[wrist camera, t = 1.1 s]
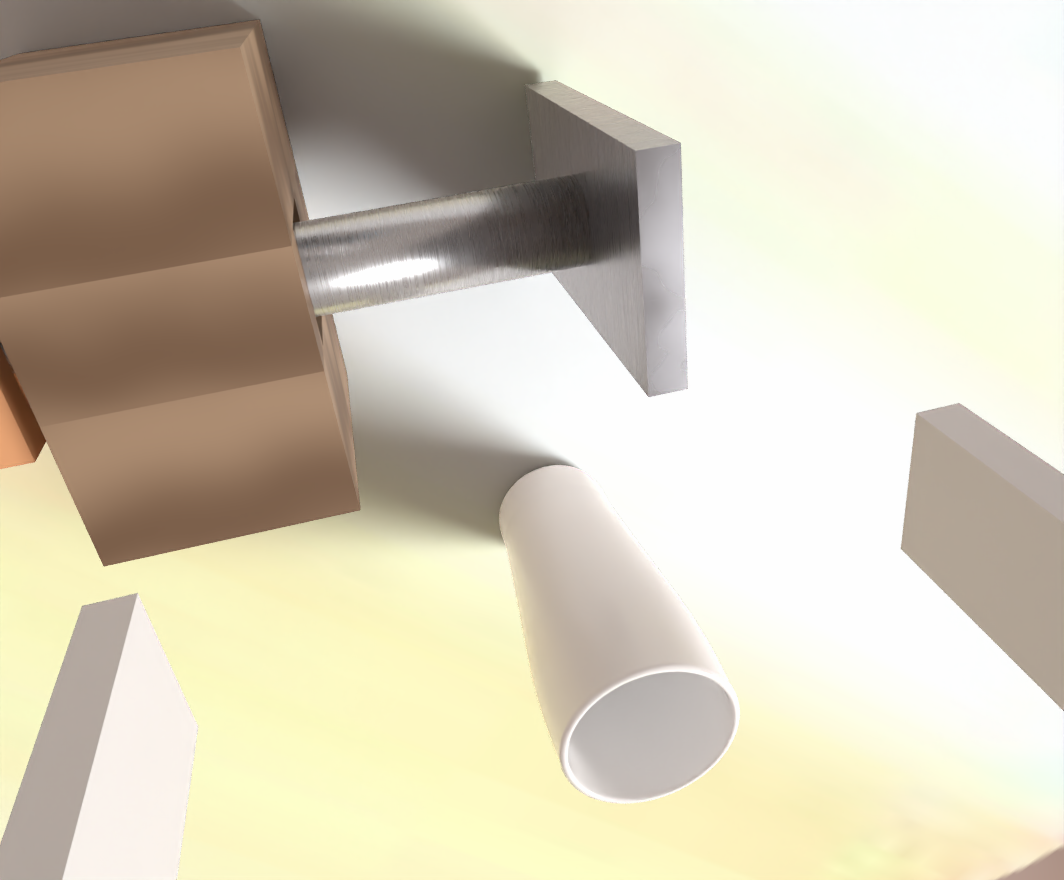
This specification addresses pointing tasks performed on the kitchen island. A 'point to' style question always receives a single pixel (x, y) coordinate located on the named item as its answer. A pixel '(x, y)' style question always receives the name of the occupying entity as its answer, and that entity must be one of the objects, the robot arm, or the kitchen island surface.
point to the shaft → (537, 236)
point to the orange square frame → (16, 421)
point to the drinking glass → (610, 645)
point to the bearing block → (167, 292)
